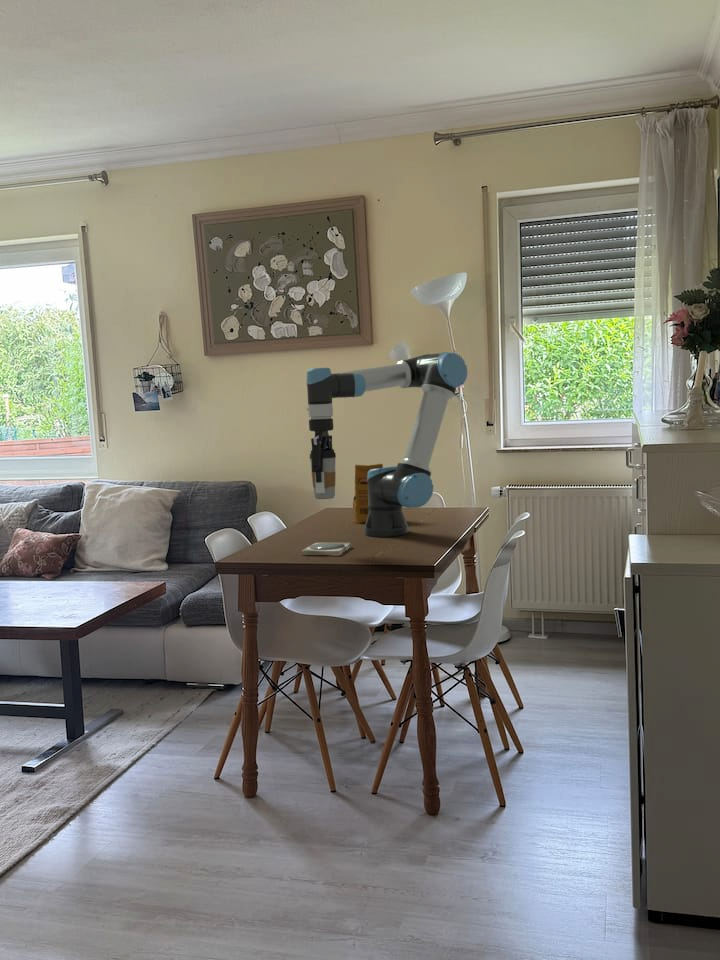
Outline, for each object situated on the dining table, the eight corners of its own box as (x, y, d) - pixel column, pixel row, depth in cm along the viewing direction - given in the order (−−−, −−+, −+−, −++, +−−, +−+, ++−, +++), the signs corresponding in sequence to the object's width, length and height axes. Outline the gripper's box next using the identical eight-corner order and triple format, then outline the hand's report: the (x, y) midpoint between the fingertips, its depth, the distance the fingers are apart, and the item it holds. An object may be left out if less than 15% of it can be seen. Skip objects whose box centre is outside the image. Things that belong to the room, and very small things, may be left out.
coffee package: (354, 520, 333) (351, 463, 330) (386, 519, 332) (384, 462, 330) (352, 524, 323) (350, 465, 320) (385, 523, 322) (383, 464, 320)
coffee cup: (307, 499, 266) (304, 451, 265) (318, 496, 274) (315, 449, 272) (331, 500, 263) (329, 451, 262) (342, 496, 271) (340, 448, 269)
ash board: (316, 547, 279) (316, 541, 279) (351, 547, 275) (351, 542, 275) (301, 555, 265) (301, 550, 265) (338, 555, 262) (338, 550, 262)
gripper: (319, 417, 277) (323, 487, 279) (298, 420, 257) (302, 495, 260) (342, 416, 275) (345, 487, 277) (322, 419, 255) (325, 495, 258)
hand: (324, 491), depth 268 cm, fingers closed on coffee cup, 7 cm apart
